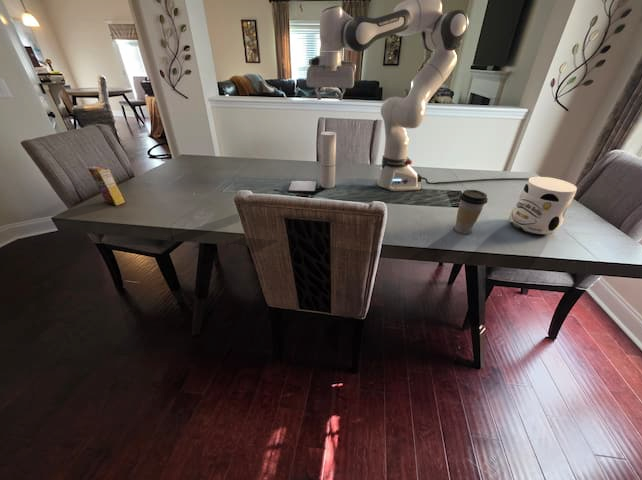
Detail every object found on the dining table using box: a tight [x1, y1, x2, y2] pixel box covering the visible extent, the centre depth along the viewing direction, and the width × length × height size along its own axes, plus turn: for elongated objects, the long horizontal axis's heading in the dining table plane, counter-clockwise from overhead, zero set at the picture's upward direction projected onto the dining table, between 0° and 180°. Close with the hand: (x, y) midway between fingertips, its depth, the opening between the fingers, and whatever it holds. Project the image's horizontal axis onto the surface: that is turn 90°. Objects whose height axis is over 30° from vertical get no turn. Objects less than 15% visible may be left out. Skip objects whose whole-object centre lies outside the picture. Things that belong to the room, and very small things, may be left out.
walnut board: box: [287, 180, 318, 194], centre depth 142 cm, size 13×13×1 cm
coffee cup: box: [454, 189, 489, 235], centre depth 106 cm, size 9×9×15 cm
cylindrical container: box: [320, 131, 337, 189], centre depth 138 cm, size 7×7×25 cm
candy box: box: [87, 165, 126, 206], centre depth 122 cm, size 9×4×15 cm, turn 60°
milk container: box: [508, 176, 578, 236], centre depth 107 cm, size 17×17×18 cm
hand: (329, 99), depth 123 cm, fingers open, 8 cm apart
